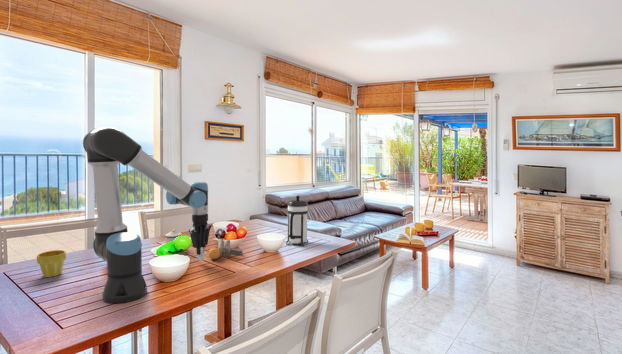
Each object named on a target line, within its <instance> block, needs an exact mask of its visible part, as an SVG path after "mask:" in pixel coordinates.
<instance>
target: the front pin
mask: <svg viewBox="0 0 622 354" xmlns="http://www.w3.org/2000/svg"><path fill="white" fill-rule="evenodd" d="M224 245H225V240H223V241H222V240H220V242H219V247H218V246H217V248H218V249H219V250H220V256H219V258H221V257H222V256H223V255H222V250H223V247H224Z"/></svg>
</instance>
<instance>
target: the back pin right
mask: <svg viewBox="0 0 622 354" xmlns="http://www.w3.org/2000/svg"><path fill="white" fill-rule="evenodd" d="M224 245H225V246H224V247H225V253H224V254H225V257H226V258H227V257H228V258H229V257H231V254H230V248H231V239H230V240H229V239H226V240H224Z"/></svg>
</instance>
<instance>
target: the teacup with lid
mask: <svg viewBox="0 0 622 354" xmlns="http://www.w3.org/2000/svg"><path fill="white" fill-rule="evenodd" d="M181 235H182V236H183V233H182V232H179V231H176V229H172V230H171V231H169V232H168V233H166V234H165V235H164V238H165V244H166V243H168V242H170V241H173V240H174V239H175V238H176V237H178V236H181Z"/></svg>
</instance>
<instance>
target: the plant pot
mask: <svg viewBox="0 0 622 354" xmlns="http://www.w3.org/2000/svg"><path fill="white" fill-rule="evenodd" d="M66 259H67V254H66V250H63V249H56V250H48V251H43V252H41V253H39V254H37V255H36V263H37V264H38V265H39V268H40V270H41V273H42V277H44V278H53V277H52V276H54V277H57V275H58V276H60V275H62V273H63V270H64V262H65V260H66ZM59 274H60V275H59Z"/></svg>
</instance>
